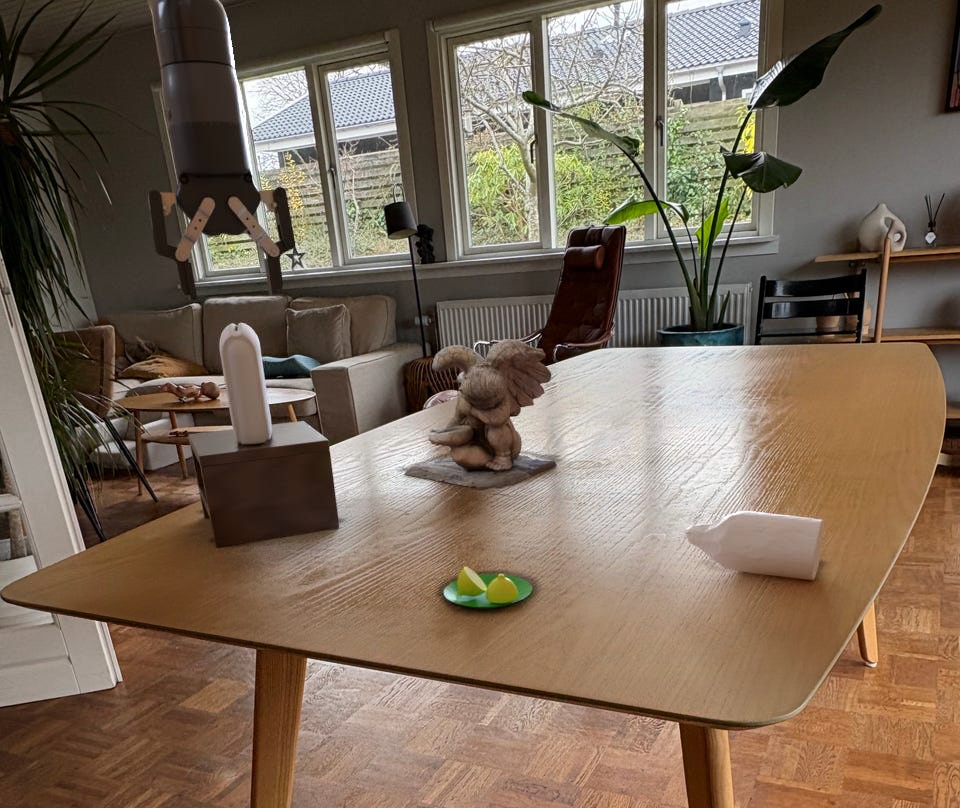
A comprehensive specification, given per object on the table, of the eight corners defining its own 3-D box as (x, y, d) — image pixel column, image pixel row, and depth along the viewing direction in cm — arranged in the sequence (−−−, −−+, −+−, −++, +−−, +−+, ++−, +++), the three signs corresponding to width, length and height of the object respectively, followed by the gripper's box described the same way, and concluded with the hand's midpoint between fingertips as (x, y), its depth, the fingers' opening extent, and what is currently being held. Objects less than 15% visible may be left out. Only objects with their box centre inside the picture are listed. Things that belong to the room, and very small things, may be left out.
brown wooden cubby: (216, 547, 93) (198, 456, 88) (203, 516, 104) (187, 434, 100) (339, 527, 97) (328, 439, 93) (314, 500, 109) (303, 420, 105)
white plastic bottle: (691, 553, 84) (695, 498, 81) (819, 567, 78) (827, 509, 76) (675, 573, 79) (678, 515, 76) (810, 589, 74) (818, 528, 71)
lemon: (442, 615, 72) (440, 585, 71) (445, 582, 79) (443, 554, 78) (534, 611, 72) (534, 580, 71) (529, 578, 79) (528, 550, 78)
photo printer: (237, 430, 101) (218, 321, 95) (273, 427, 101) (257, 319, 96) (233, 447, 92) (213, 327, 86) (273, 444, 92) (255, 325, 87)
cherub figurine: (394, 476, 118) (381, 343, 111) (471, 451, 131) (465, 330, 124) (494, 491, 108) (488, 346, 101) (568, 462, 121) (567, 332, 114)
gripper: (272, 129, 89) (293, 293, 96) (130, 128, 84) (163, 301, 91) (284, 118, 83) (306, 294, 89) (132, 117, 78) (167, 303, 85)
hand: (234, 298), depth 90 cm, fingers open, 8 cm apart
